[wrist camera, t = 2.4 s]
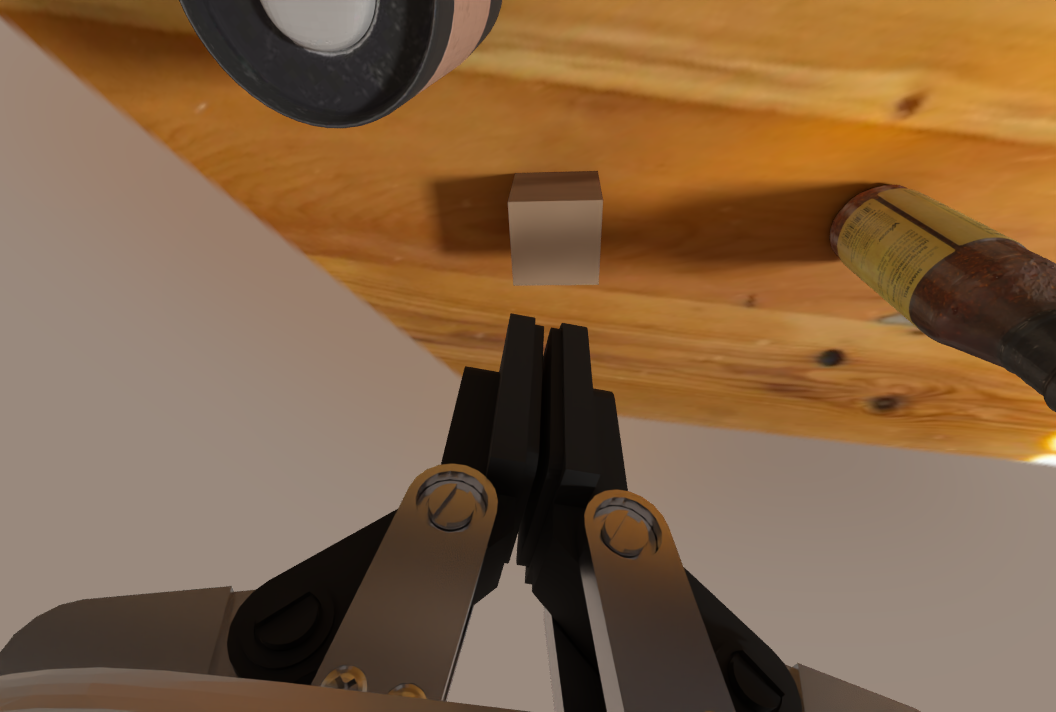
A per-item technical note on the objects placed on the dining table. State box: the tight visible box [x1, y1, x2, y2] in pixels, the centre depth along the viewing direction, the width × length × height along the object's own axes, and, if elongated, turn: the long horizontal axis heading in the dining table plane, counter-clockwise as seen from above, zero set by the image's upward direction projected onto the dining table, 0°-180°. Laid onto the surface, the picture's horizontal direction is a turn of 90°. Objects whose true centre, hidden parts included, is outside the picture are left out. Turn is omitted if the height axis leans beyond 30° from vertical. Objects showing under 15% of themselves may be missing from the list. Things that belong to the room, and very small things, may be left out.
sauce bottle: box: [830, 185, 1056, 412], centre depth 28 cm, size 7×6×20 cm
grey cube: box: [508, 171, 603, 285], centre depth 35 cm, size 6×6×6 cm
